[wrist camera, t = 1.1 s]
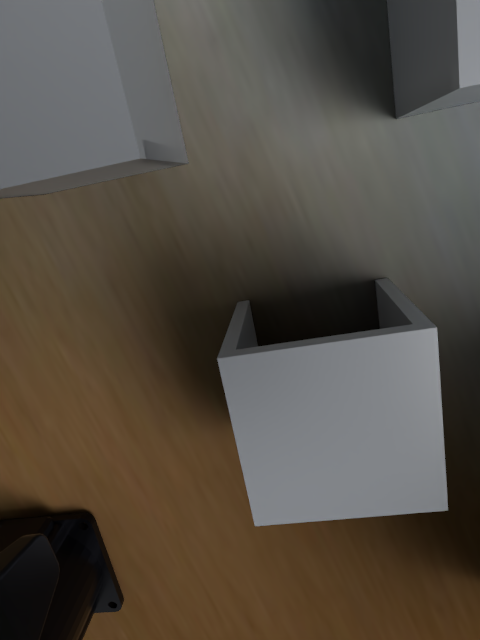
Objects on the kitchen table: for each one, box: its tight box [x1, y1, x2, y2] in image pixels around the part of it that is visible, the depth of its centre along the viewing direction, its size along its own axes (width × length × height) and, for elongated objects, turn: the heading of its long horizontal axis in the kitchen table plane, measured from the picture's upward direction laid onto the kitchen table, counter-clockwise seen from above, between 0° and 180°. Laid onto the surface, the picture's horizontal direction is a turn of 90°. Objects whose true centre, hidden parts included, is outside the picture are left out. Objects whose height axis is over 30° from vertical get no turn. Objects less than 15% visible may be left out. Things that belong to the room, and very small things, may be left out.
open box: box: [217, 278, 448, 526], centre depth 16 cm, size 6×6×6 cm
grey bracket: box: [0, 0, 189, 198], centre depth 14 cm, size 6×6×6 cm
